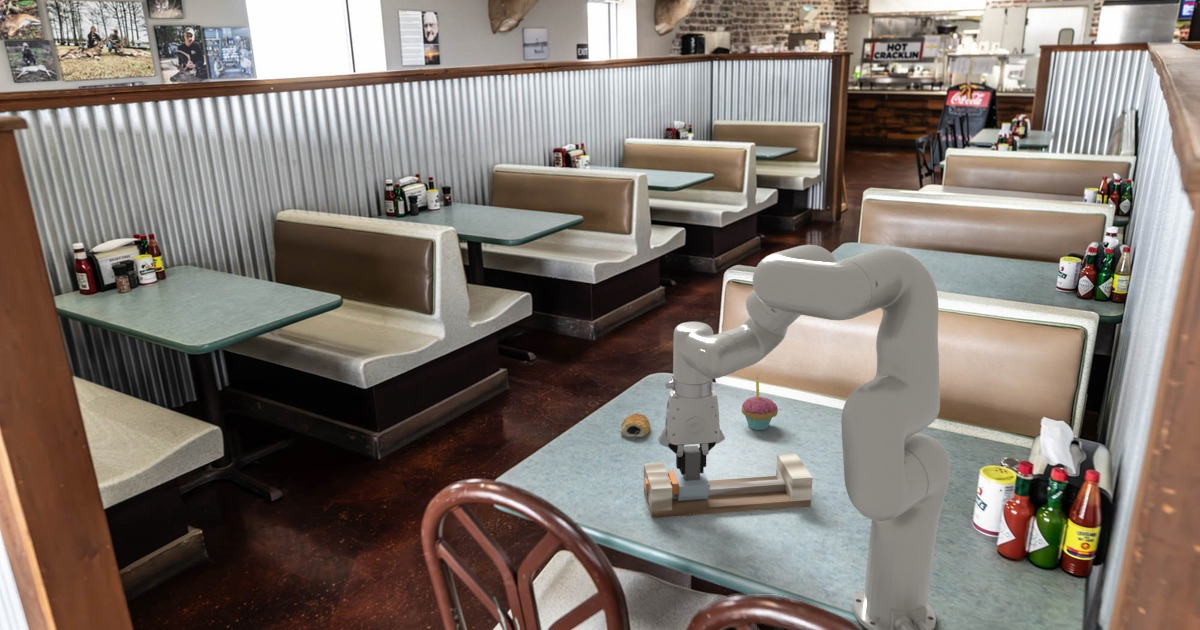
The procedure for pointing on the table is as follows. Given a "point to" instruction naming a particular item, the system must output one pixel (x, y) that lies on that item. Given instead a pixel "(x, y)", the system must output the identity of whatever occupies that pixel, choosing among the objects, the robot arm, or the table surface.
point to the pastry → (635, 426)
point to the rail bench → (730, 501)
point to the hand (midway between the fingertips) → (691, 469)
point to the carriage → (692, 477)
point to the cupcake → (759, 411)
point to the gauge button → (672, 480)
